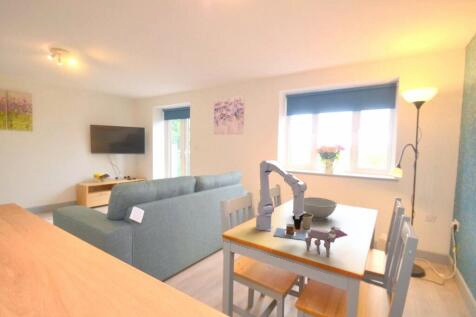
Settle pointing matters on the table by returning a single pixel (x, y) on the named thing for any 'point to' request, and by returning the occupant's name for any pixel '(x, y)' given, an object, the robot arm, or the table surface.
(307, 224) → the flower pot
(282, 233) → the board
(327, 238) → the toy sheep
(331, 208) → the decorative bowl
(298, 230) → the terracotta block
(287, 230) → the walnut block
